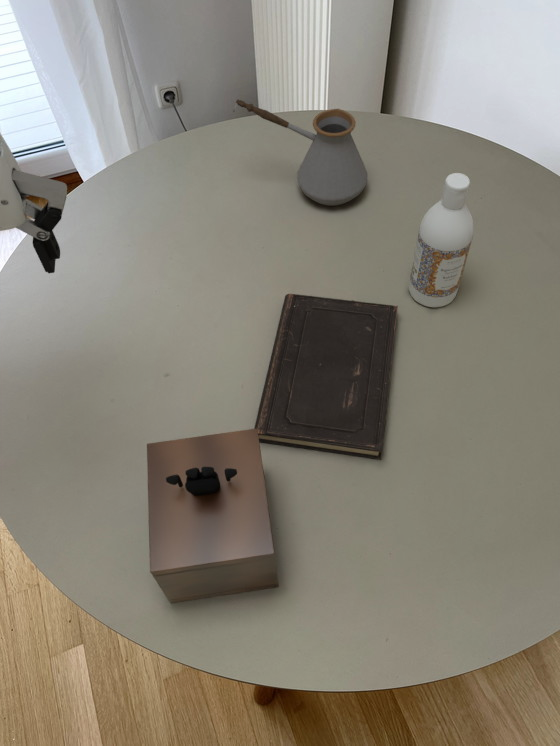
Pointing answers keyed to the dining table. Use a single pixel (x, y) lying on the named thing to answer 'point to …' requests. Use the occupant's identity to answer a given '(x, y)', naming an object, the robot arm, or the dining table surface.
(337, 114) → the coffee pot
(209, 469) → the wireless earbuds
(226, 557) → the bronze lidded case
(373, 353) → the hardcover book
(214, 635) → the dining table surface
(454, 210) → the bath foam
